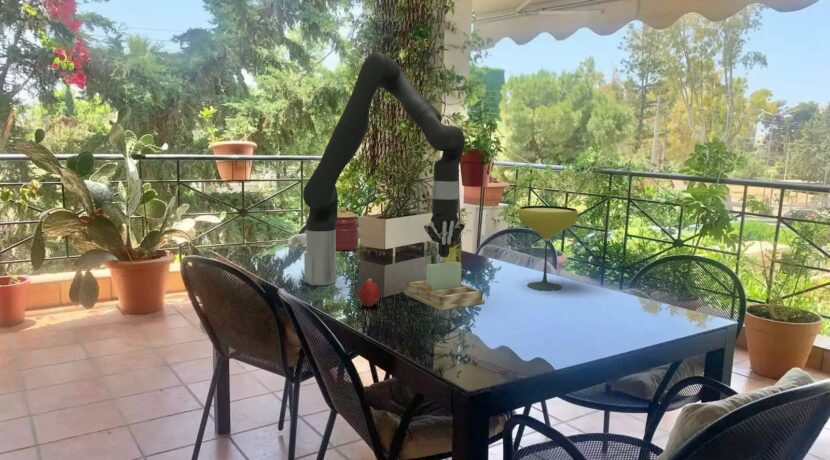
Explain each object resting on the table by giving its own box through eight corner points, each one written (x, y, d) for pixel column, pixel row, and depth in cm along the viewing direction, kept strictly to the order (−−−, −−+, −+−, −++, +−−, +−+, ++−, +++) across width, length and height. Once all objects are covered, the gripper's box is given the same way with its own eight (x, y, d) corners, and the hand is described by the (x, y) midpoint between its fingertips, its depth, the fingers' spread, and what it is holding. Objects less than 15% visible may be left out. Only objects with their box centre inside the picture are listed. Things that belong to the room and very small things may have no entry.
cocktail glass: (584, 286, 197) (588, 209, 193) (554, 296, 184) (558, 213, 180) (535, 277, 209) (538, 204, 205) (504, 286, 196) (507, 208, 192)
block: (431, 297, 176) (432, 266, 174) (426, 295, 178) (426, 264, 177) (460, 293, 181) (461, 263, 179) (455, 291, 183) (455, 261, 182)
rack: (439, 310, 167) (440, 294, 167) (404, 294, 184) (404, 280, 184) (484, 303, 175) (485, 288, 174) (446, 288, 192) (446, 275, 191)
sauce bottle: (459, 279, 204) (460, 220, 202) (440, 278, 206) (441, 219, 203) (461, 275, 211) (463, 217, 208) (443, 274, 212) (445, 217, 209)
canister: (323, 250, 254) (323, 208, 251) (332, 245, 267) (332, 204, 264) (354, 252, 252) (354, 209, 249) (362, 246, 265) (362, 205, 262)
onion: (363, 310, 166) (363, 281, 165) (355, 305, 171) (355, 277, 170) (383, 308, 169) (383, 279, 168) (374, 303, 174) (374, 275, 173)
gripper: (457, 195, 182) (455, 252, 184) (418, 196, 175) (417, 256, 178) (472, 197, 175) (470, 257, 178) (432, 198, 169) (430, 260, 171)
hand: (443, 256), depth 178 cm, fingers closed
